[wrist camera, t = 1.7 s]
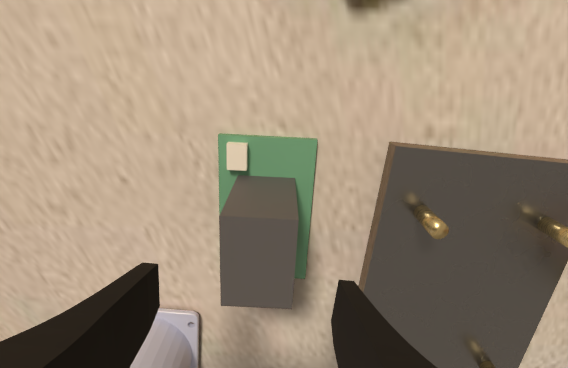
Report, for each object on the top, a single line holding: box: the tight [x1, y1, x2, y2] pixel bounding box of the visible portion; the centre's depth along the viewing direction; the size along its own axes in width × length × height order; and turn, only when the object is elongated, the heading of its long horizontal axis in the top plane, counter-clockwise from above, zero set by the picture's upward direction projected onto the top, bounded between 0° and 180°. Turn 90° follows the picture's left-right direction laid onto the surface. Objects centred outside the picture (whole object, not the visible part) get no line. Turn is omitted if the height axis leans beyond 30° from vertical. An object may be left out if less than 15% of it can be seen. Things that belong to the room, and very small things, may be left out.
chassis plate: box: [359, 142, 568, 368], centre depth 21 cm, size 20×13×4 cm, turn 174°
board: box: [218, 133, 317, 309], centre depth 18 cm, size 10×6×7 cm, turn 177°
